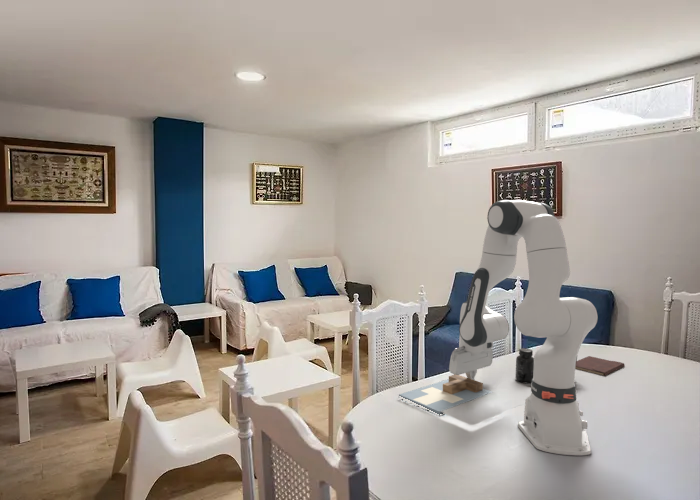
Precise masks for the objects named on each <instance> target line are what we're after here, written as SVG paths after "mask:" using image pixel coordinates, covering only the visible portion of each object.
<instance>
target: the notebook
mask: <svg viewBox="0 0 700 500" xmlns="http://www.w3.org/2000/svg"><path fill="white" fill-rule="evenodd" d="M625 365H626V364H625V363H624V362H620V361H616V360H609V359H608V360H607V359H605V358H600V357H599V358H598V357H595V356H590V355H589V356H586V357H584V358H581V359H577V361H576V367H575V370H579V371H582V372H588V373H590V374H591V373H592V374H595V375H600V376H602V377H606V376H608V375H610V374H612V373H614V372H616V371H619V370H620V369H623V368H624V367H625Z"/></svg>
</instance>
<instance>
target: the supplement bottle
mask: <svg viewBox="0 0 700 500" xmlns="http://www.w3.org/2000/svg"><path fill="white" fill-rule="evenodd" d="M533 370H534V354H533V349H530V348H522V347H521V348H519V349H518V355H517V356H516V358H515V380H516V381H517V382H519V383H523V384H531V382H532V379H533Z"/></svg>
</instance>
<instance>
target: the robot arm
mask: <svg viewBox="0 0 700 500" xmlns="http://www.w3.org/2000/svg"><path fill="white" fill-rule="evenodd" d="M486 219H487V222H488V223H487V224H488V226H487V227H486V228H487V229H486V232H485V234H484V235H485V236H484V239H483V240H484V241H483V245H482V246H483V247H482V255H481V258H480V263H479V265H478V268H477V269H476V271H475V272H474V274H473V277H472V280H471V282H470V286H469V287H470V288H469V290H468V291H469V292H468V296H467V300H466V301H464V302H462V304H461V307H460V314H459V328H458V329H459V341H458V344H459V345H458V346H459V347H456V348H454V350H453V351H452V352H451V355H450V360H449V365H448V369H449V370H448V371H449V373H451V375H454V374H455V375H460V376H461V375H462V374H463V375H464V374H465V375H466V376H465V377H466V378H469V379H472V380H475V377H476V375H477V373H478V370H481V369H483V368H484V369H485V368H487V367H490V366H491V365H492V364H493V357H494V355H493V354H494V353H493V352H494V351H493V348H494V342H499V341H501V340H504V339H506V338H507V337H508V335H509V331H510V325H509V324H510V323H509V321H508V319H507V318H506V316H505V315H504V314H501V313H499V312H497V311H494V310H493V309H491V308H490V307H488V306H487V305H486V304H487V301H488V296H489V293H490V292H491V290H492V289H493V288H494V287H495V286H496V285H498V284H499V283H501V282H502V281H504V280H505V279H507V278H509V277H510V276H511V275H512V274H513V272H514V271H515V270H514V269H515V268H516V267H515V266H516V264H517V253H518V244H519V241H520V239H521V238H523V239H524V243H525V248H526V249H525V250H526V251H525V252H526V257H527V258H526V259H527V266H528V285H527V286H528V287H527V289H526V293H525V295H524V297H523V300H522V301H521V302H520V303H519V304H518V305H517V307H516V308H515V311H514V316H513V317H514V318H513V319H514V324H515V326H516V328H517V330H518V331H519V332H520V333H521V335H523V336H526V337H531V338H532V337H533V338H543V339H544V338H546V339H545V341H544V343H543V344H542V345H541V346H540V347H539V348H538V349H537V350H536V351H535V353H534V354H533V358H534V370H533V379H532V382H531V383H530V387H531V388H530V392H531V393H530V395H529V396H527V397H526V398H525V399H524V400H525V403H524V411H523V413H524V414H523V420H521V421H518V423H517V427H518V428H519V430H521V432H522V433H523V435H525V437H526V438H527V439H528V440H529V442H530V443H531V444H532V445H533V447H535V449H537V450H540V451H543V452H546V453H551V454H557V455H565V456H587V455H588V456H589V455H591V454H592V449H591V444H590V441H589V436H588V432H587V430H588V421H587V420H582V419H581V417H583V416H584V412H583V411H582V410H580V407H579V406H580V402H579V401H577V387H576V384H575V378H576V376H575V375H576V369H575V365H576V358H577V359H578V356H577V355H578V354H579V352H580V349H581V346H582V345H583V342H584V341H585V338H586V337H587V335H588V334H589V332H591V331H592V330H593V329H594V328H595V327H596V325H597V323H598V319H599V318H598V312H597V308H596V307H595V305H594V304H593V302H591V301H589V300H587V299H585V298H580V297H575V296H570V297H569V296H567V297H560V293H561V289H562V286H563V285H564V283H565V282H567V280H568V279H569V278H570V275H571V269H570V264H569V263H570V262H569V257H568V250H567V249H568V248H567V244H566V240H565V239H566V238H565V235H564V232H563V229H562V225H561V224H560V220H559V219H558V218H557V217H556V216H555V212H554V210H553V209H552V207H551V206H550V205H548V204H546V203H543V202H540V201H536V202H535V201H529V200H524V199H523V200H522V199H513V200H512V199H511V200H509V199H503V200H502V199H501V200H498V201H495V202H493V204H491V206H490V207H489V209H488V212H487V217H486Z"/></svg>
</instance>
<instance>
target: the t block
mask: <svg viewBox="0 0 700 500" xmlns="http://www.w3.org/2000/svg"><path fill="white" fill-rule="evenodd" d="M448 379H449V382H448V383H445V384H443V391H444V392H447V393H449V394H454V393H457V392H460V391H463V390H466V389H467V390H470V391H473V392H479V391H481V390H483V389H484V382H481V381H478V380H475V379H474V380H472V379H469V378H467V376H463V375H461V374H460V375H455V374H451V375H449V376H448Z"/></svg>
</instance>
